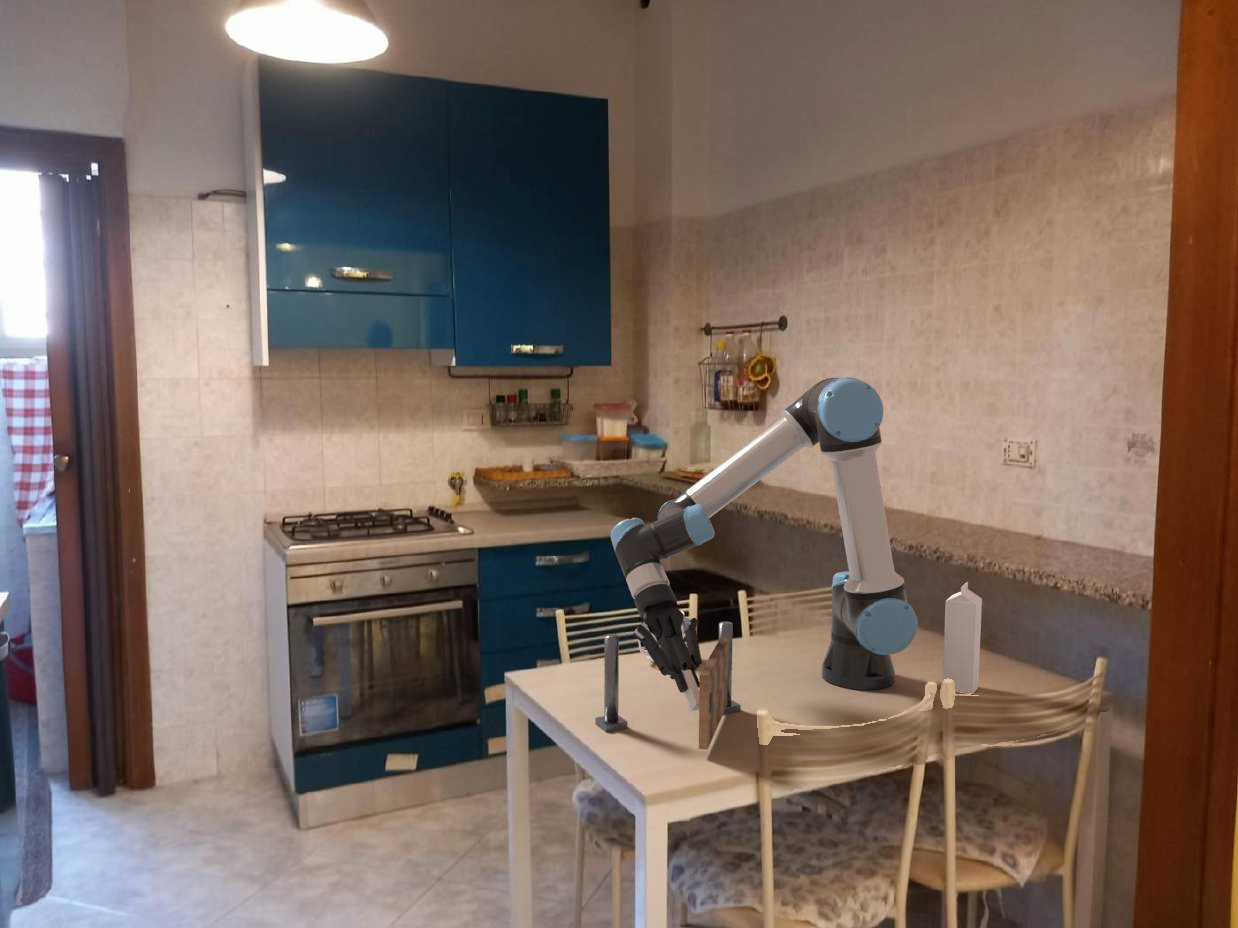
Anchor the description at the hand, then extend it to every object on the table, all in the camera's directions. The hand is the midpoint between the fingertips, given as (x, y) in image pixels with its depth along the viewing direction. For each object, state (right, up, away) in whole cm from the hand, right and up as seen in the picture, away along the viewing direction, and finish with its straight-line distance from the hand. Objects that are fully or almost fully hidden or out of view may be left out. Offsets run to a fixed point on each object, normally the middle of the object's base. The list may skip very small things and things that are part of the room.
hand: (697, 706), depth 164 cm
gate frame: (-4, -5, +13) cm, 14 cm away
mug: (-5, -2, +48) cm, 48 cm away
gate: (+4, -5, +5) cm, 7 cm away
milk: (+57, -4, +29) cm, 64 cm away
